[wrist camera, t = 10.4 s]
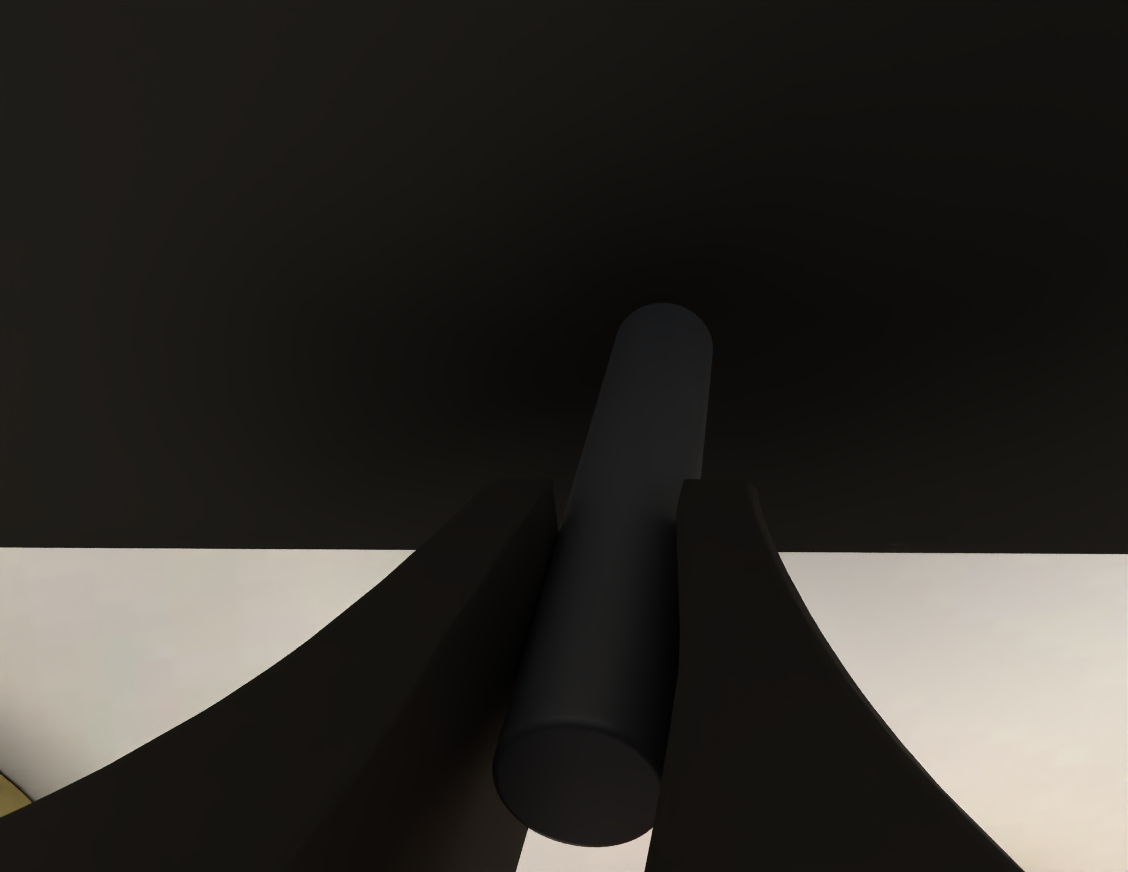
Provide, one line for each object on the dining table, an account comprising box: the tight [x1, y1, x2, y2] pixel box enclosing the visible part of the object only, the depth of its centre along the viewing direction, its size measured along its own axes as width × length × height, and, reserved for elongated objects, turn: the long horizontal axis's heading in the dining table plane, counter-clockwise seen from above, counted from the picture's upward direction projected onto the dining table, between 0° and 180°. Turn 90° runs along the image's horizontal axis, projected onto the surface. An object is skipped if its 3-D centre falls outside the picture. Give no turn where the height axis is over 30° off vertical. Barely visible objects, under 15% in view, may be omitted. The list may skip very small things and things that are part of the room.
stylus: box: [492, 303, 713, 847], centre depth 12 cm, size 1×1×9 cm
